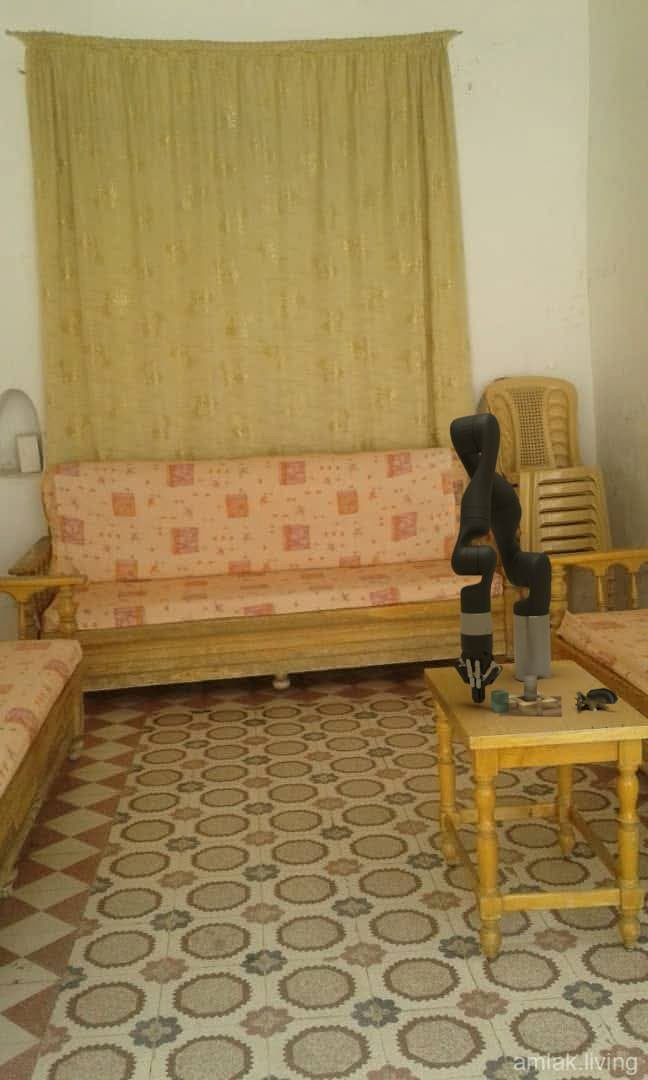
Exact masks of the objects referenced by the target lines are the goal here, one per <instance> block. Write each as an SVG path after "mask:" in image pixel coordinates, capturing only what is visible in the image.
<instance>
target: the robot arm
mask: <svg viewBox="0 0 648 1080" xmlns="http://www.w3.org/2000/svg"><path fill="white" fill-rule="evenodd" d="M449 425H450V426H449V435H450V440H451V443H452V446H453V449H454V451H455V453H456V454H457V456H458V458H459V461H460V462H461V464H462V466H463V467H464V470H465V471H466V474H467V475H468V477H469V480H470V481H469V483H468V485H467V486H466V488H465V489H464V491H463V495H462V496H461V501H460V508H459V509H460V510H459V511H460V512H459V514H460V515H459V529H458V535H457V539H456V542H455V545H454V547H453V551H452V553H451V558H450V566H451V569H452V571H453V572H454V574H455V575H457V576H460V577H462V576H463V577H464V576H465V577H467V576H469V577H471V576H473V577H474V576H477V577H479V576H481V579H480V581H479V582H477V583H473V584H469V585H466V586H463V587H462V588H461V589H460V591H459V592H460V593H459V599H460V601H459V602H460V603H459V604H460V618H459V628H460V630H459V631H460V649H461V654H460V658H459V659H458V660H456V661H453V663H452V665H453V667H454V668H455V670H456V672H457V673H458V674H459V676H460V678H461V679H462V681H463V682H464V684H466V685H467V684H468V685H469V687H471V699H472V700H473V703H474V704H482V703H484V701H486V700H485V699H486V687H488V686H491V685H493V684H494V682H495V681H496V680H497V678H498V677H499V675H500V674H501V673H502V671H503V669H504V667H503V665H501V664H500V665H498V663H497V662H496V661H495V657H494V653H493V650H494V627H493V616H492V602H491V601H492V599H491V597H492V596H491V594H492V593H491V592H492V585H493V584H492V583H493V580H494V576H495V572H496V568H497V564H498V555H497V552H496V549H497V551H498V554H499V557H500V561H501V565H502V569H503V572H504V575H505V577H506V580H508V582H509V584H510V585H512V586H515V587H520V588H528V589H529V593H528V596H526V598H522V599H519V600H517V601H515V602H514V603H513V605H512V611H513V612H512V614H513V615H512V617H513V621H512V622H513V643H514V644H513V645H514V647H513V648H514V653H513V654H514V679H516V680H518V681H522V682H524V676H525V675H535V676H537V681H538V680H545V679H546V680H547V679H551V678H552V672H551V671H552V669H551V667H552V666H551V665H552V663H551V661H552V660H551V631H550V630H551V624H550V623H551V622H550V606H551V600H552V577H553V576H552V573H553V571H552V562H551V560H550V557H549V556H548V555H547V554H546V553H544V552H534V551H523V550H522V549H521V547H520V546H519V543H518V539H517V532H518V529H519V526H520V523H521V520H522V516H523V515H522V514H523V510H522V509H523V508H522V505H521V503H520V499H519V498H518V495H517V491H516V490H515V488H514V486H513V484H511V483H510V482H509V481H508V479H506V478H505V477H504V476H502V475H501V473H499V472H497V471H496V469H497V463H498V457H499V450H500V444H501V428H500V423H499V421H498V419H497V417H496V416H495V415H494V414H493V413H491V412H483V413H478V414H477V413H476V414H471V415H466V416H461V417H458V418H455V419H453V420H452V421H451V422H450V424H449ZM490 530H491V531H490ZM490 533H492V537H493V538H494V541H495V544H496V549H495V548H494V547H493V546H491V545H488V544H487V545H486V544H484V545H479V544H477V545H476V544H475V545H470V543H471V542H472V541H474V540H477V539H481V538H484V537H486V536H487V537H488V535H489V534H490Z"/></svg>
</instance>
